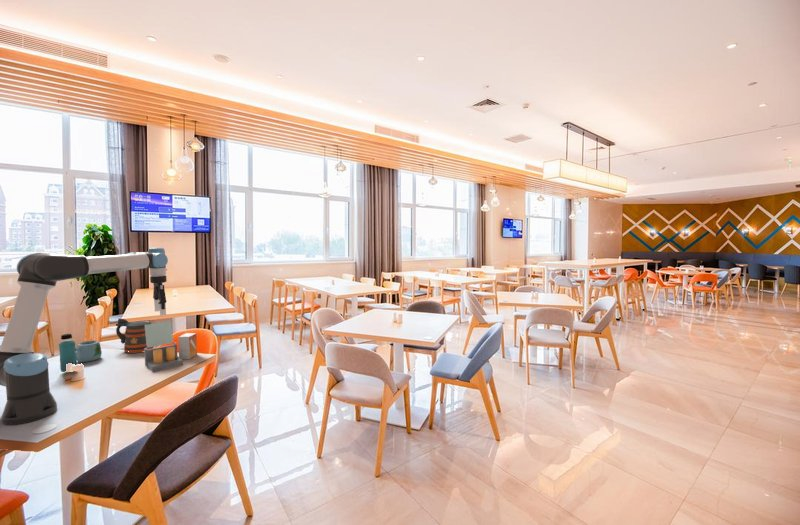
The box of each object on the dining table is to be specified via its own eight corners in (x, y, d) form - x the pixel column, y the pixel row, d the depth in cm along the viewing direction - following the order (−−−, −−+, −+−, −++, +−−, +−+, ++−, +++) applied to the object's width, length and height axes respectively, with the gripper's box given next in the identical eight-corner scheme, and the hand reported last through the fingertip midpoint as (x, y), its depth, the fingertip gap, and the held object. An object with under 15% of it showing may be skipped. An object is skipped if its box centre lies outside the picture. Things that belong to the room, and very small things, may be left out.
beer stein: (111, 355, 211) (108, 321, 209) (122, 347, 224) (120, 316, 223) (148, 352, 216) (146, 319, 215) (157, 345, 230) (155, 314, 229)
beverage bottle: (67, 375, 180) (64, 336, 179) (56, 374, 182) (54, 335, 180) (81, 370, 187) (78, 333, 185) (71, 369, 188) (68, 332, 187)
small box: (190, 359, 204) (189, 336, 203) (178, 359, 204) (177, 336, 203) (197, 354, 212) (196, 332, 211) (186, 354, 212) (185, 332, 211)
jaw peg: (167, 365, 194) (167, 349, 193) (166, 363, 197) (165, 347, 196) (176, 363, 197) (175, 347, 196) (174, 362, 200) (173, 346, 199)
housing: (151, 371, 185) (150, 353, 185) (145, 365, 195) (144, 347, 194) (183, 364, 196) (183, 347, 195) (176, 358, 206) (175, 341, 205)
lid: (144, 324, 196) (144, 325, 197) (147, 347, 195) (147, 347, 195) (170, 321, 205) (170, 321, 205) (173, 342, 204) (173, 342, 204)
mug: (84, 366, 194) (82, 347, 193) (63, 365, 194) (62, 347, 193) (107, 356, 208) (106, 339, 208) (88, 356, 209) (87, 339, 208)
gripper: (171, 276, 193) (173, 315, 195) (161, 273, 211) (163, 308, 213) (154, 278, 188) (157, 317, 190) (145, 274, 206) (147, 310, 208)
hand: (160, 313), depth 202 cm, fingers open, 13 cm apart
